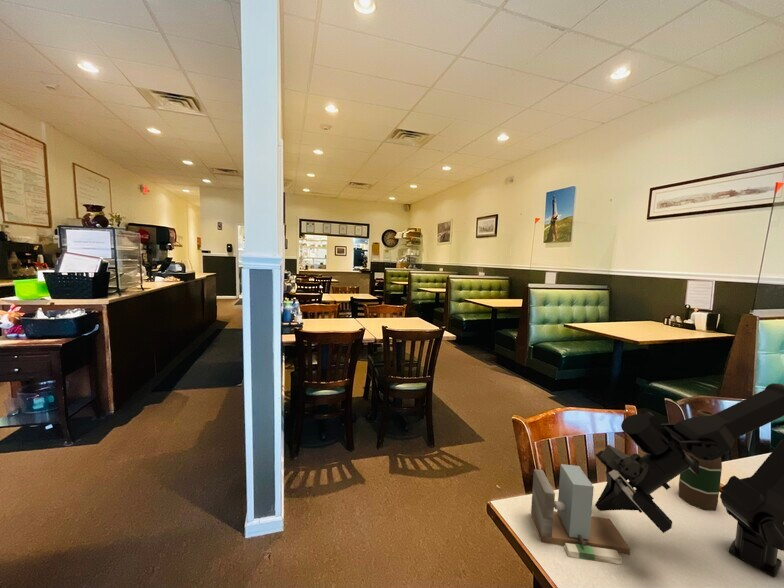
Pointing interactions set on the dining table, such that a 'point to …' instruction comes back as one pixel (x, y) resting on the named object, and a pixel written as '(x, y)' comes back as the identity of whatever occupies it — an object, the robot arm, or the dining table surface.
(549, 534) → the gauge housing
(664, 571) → the dining table surface
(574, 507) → the gauge carriage
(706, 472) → the beer bottle
